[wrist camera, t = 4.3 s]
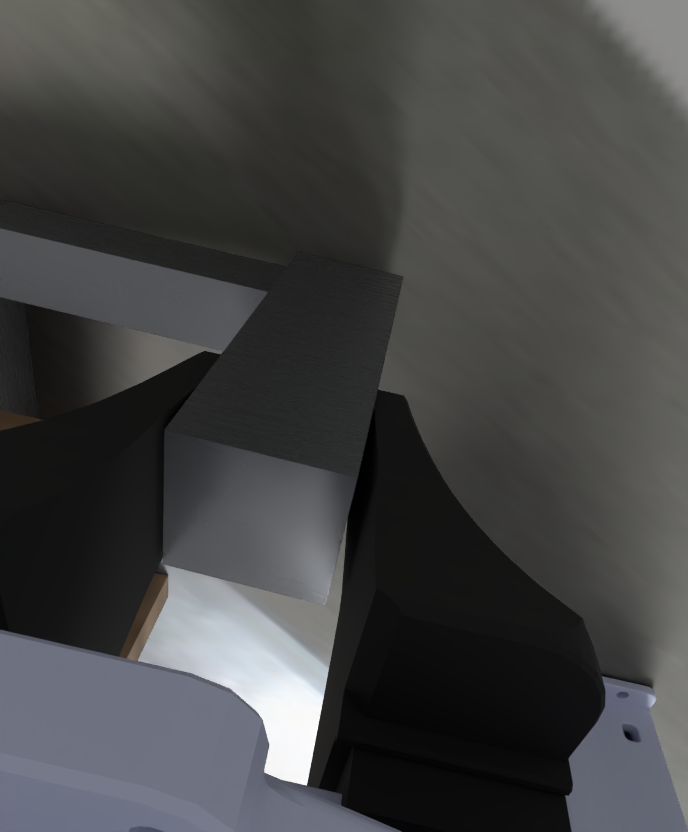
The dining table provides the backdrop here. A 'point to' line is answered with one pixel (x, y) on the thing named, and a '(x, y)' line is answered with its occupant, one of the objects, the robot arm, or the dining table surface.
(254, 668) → the dining table surface
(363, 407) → the grey angled block
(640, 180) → the dining table surface
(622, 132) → the dining table surface
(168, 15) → the dining table surface
